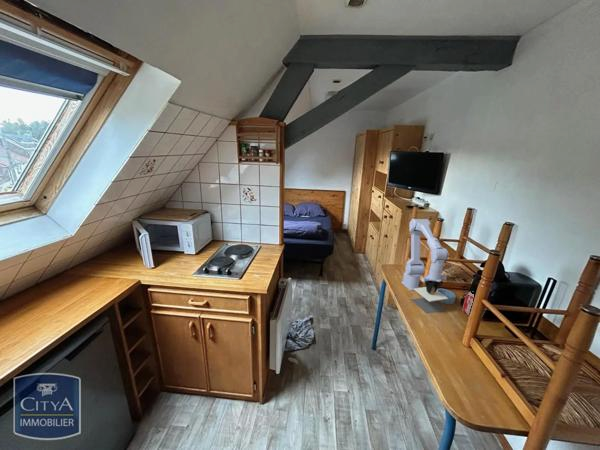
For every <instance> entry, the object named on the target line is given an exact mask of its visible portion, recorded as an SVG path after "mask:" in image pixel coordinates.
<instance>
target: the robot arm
mask: <svg viewBox="0 0 600 450" xmlns="http://www.w3.org/2000/svg"><path fill="white" fill-rule="evenodd" d="M408 224H409V225H408V226H409V232H410V259H407V261H406V262H405V267H404V268H405V272H404V273H403V276H402V281H401V282H400V283H401V284H402V285H403V286H405V288H407V289H409V291H415V290H414V288H421V287H420V286H419V284H420V279H421V281H422V283H424V285H425V287H426V291H427V292H428V293H430V292H431V290H432V287H433V286H434V287H435V291H434V292H436V291H437V289H440V288H439V287H440V286H441V285H443V283H444V281H446V280H447V276H446V275H445V274H442V273H443V269H444V264H445V260H448V258H449V256H450V255H449V251H448V249H447V248H444V246H442V244H441V242H440V241H439V239H438V238H437V237H435V236H434V234H433V232H432V229H431V220H429V219H428V218H422V219H421V218H411V220H410V221H409V223H408ZM421 234H423V235H424V237H425V239H427V240H426V244H427V246H428V249H430V261H431V263H430V267H429V271H428V275H426V276H422V275H423V274H425V263H424V262H423V261H422V259H421ZM443 280H444V281H443Z"/></svg>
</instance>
